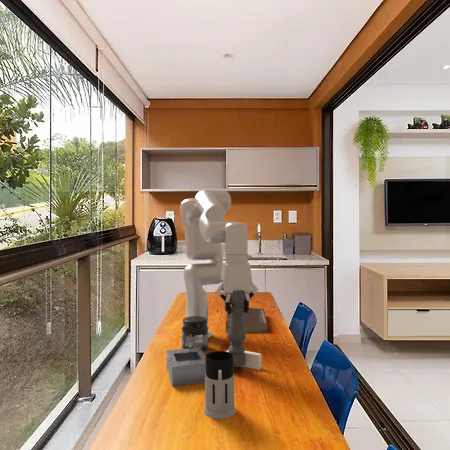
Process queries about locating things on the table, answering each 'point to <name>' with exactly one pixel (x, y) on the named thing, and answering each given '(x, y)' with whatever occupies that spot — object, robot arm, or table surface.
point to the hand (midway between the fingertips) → (237, 312)
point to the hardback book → (251, 321)
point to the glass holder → (219, 385)
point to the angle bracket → (252, 360)
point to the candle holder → (237, 328)
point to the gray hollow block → (186, 366)
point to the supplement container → (195, 333)
